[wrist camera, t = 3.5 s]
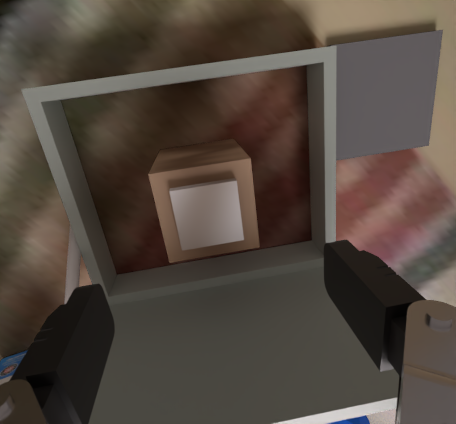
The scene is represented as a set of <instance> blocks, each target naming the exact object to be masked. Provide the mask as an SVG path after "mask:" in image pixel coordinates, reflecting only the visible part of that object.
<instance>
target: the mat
mask: <svg viewBox="0 0 456 424" xmlns="http://www.w3.org/2000/svg"><path fill="white" fill-rule="evenodd" d="M442 32H443V30H438V31H431V32H424V33H417V34H409V35H402V36H395V37H388V38H380V39H373V40H366V41H359V42H352V43H344V44H337V45H330V46H337V48H336V160H342V159H348V158H354V157H361V156H367V155H373V154H379V153H385V152H392V151H398V150H404V149H410V148H416V147H423V146H429V139H430V131H431V123H432V114H433V106H434V98H435V90H436V81H437V73H438V65H439V57H440V48H441V40H442ZM330 46H327V47H330Z"/></svg>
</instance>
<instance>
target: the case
mask: <svg viewBox="0 0 456 424" xmlns="http://www.w3.org/2000/svg"><path fill="white" fill-rule="evenodd" d="M336 48H337V46H330V47H322V48H315V49H308V50H301V51H294V52H286V53H279V54H272V55H265V56H258V57H250V58H243V59H236V60H229V61H222V62H214V63H207V64H200V65H193V66H186V67H178V68H171V69H164V70H157V71H150V72H142V73H135V74H128V75H121V76H114V77H106V78H99V79H92V80H85V81H78V82H70V83H63V84H56V85H49V86H42V87H34V88H27V89H21V90H22V93H23V96H24V99H25V101H26V104H27V107H28V109H29V112H30V115H31V118H32V120H33V123H34V126H35V129H36V131H37V134H38V137H39V140H40V142H41V145H42V148H43V151H44V153H45V156H46V159H47V161H48V164H49V167H50V170H51V172H52V175H53V178H54V181H55V183H56V186H57V189H58V192H59V194H60V197H61V200H62V203H63V205H64V208H65V211H66V213H67V216H68V219H69V222H70V231H69V245H68V259H67V273H66V287H65V302H64V304H66V303H67V301H68V299H69V297H70V296H71V294H72V292H73V290H74V289H75V288H76V287H79V276H80V257H81V254H82V257H83V260H84V263H85V265H86V268H87V271H88V274H89V276H90V279H91V282H92V284H100V285H101V286H102V288H103V290H104V293H105V296H106V299H107V302H108V304H109V307H110V310H111V313H112V316H113V319H114V325H115V333H114V338H113V342H112V345H111V348H110V352H109V355H108V359H107V362H106V365H105V369H104V372H103V376H102V379H101V382H100V386H99V389H98V393H97V396H96V399H95V403H94V406H93V410H92V413H91V416H90V420H89V423H88V424H327V423H332V422H336V421H341V420H346V419H350V418H355V417H360V416H365V415H369V414H374V413H379V412H383V411H388V410H393V409H396V405H397V394H398V382H399V375H398V373H397V372H396V370H395V369H391V370H386V371H382V372H380V371H379V369H378V368H377V366H376V365H375V363H374V362H373V360H372V359H371V358H370V356H369V355H368V353H367V352H366V350H365V349H364V347H363V346H362V344H361V343H360V341H359V340H358V338H357V337H356V335H355V334H354V332H353V331H352V329H351V328H350V327H349V325H348V324H347V322H346V321H345V319H344V318H343V316H342V315H341V313H340V312H339V310H338V309H337V307H336V306H335V304H334V303H333V301H332V300H331V298H330V297H329V295H328V293H327V291H326V288H325V284H324V245H325V243H330V242H335V241H336ZM305 65H307V97H308V131H309V165H310V199H311V233H312V240H311V241H305V242H300V243H294V244H288V245H283V246H277V247H271V248H266V249H260V250H254V251H249V252H243V253H237V254H232V255H226V256H220V257H215V258H209V259H203V260H198V261H192V262H186V263H181V264H175V265H169V266H164V267H158V268H152V269H147V270H141V271H135V272H130V273H124V274H118V275H117V273H116V270H115V267H114V264H113V261H112V258H111V255H110V252H109V248H108V245H107V242H106V239H105V236H104V233H103V230H102V227H101V224H100V221H99V217H98V214H97V211H96V208H95V205H94V202H93V199H92V196H91V193H90V190H89V187H88V183H87V180H86V177H85V174H84V171H83V168H82V165H81V162H80V159H79V156H78V153H77V149H76V146H75V143H74V140H73V137H72V134H71V131H70V128H69V125H68V122H67V119H66V115H65V112H64V109H63V106H62V103H61V100H66V99H73V98H80V97H87V96H94V95H101V94H108V93H115V92H122V91H129V90H136V89H143V88H150V87H158V86H165V85H172V84H179V83H186V82H193V81H200V80H207V79H214V78H221V77H228V76H235V75H242V74H249V73H256V72H263V71H270V70H277V69H284V68H291V67H298V66H305Z"/></svg>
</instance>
